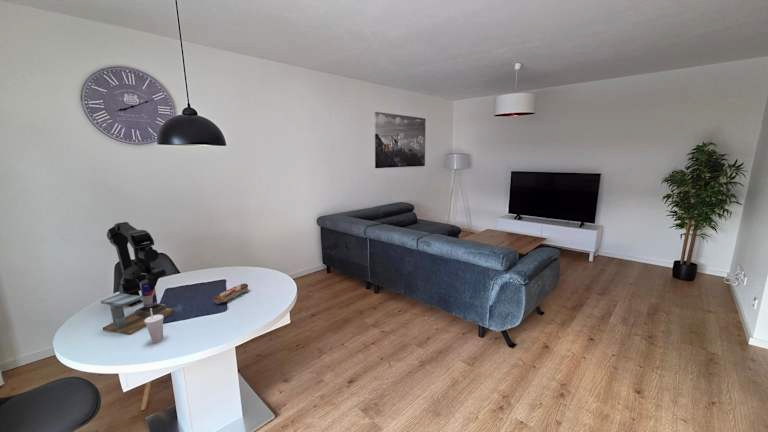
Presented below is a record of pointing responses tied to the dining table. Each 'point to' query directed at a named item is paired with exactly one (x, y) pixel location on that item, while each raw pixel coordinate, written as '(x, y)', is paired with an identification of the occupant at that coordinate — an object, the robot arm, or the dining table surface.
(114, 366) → the dining table surface
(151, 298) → the energy drink
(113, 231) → the robot arm
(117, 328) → the socket board
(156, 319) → the smoothie
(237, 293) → the pencil case
